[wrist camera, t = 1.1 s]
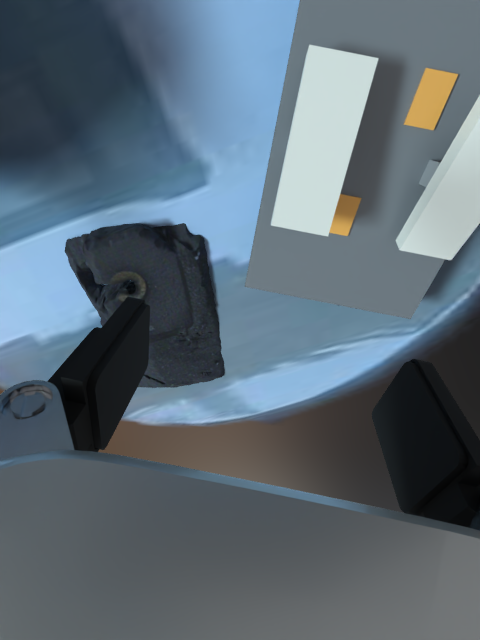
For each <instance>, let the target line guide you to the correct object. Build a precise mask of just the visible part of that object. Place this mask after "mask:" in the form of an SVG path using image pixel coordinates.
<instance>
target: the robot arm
mask: <svg viewBox="0 0 480 640" xmlns="http://www.w3.org/2000/svg"><path fill="white" fill-rule="evenodd" d="M149 330H150V306H149V305H147V304H146V303H145V300H143V299H138V298H134V297H127V298H126V299H125V300H124V301H123V302H122V304H121V305H120V306H119V307H118V308H117V310H116V311H115V312H114V313H113V314H112V316H111V317H110V318H109V319H108V320H107V322H106V323H105V324H104V325H103V327H102V328H98V327H97V328H94V329H93V330H92V331H91V332H90V333H89V334H88V335H87V336H86V338H85V339H84V340H83V341H82V342H81V343H80V344H79V346H78V347H77V348H76V349H75V350H74V351H73V353H72V354H71V355H70V356H69V357H68V358H67V359H66V361H65V362H64V363H63V364H62V365H61V366H60V368H59V369H58V370H57V371H56V372H55V373H54V375H53V376H52V377H51V378H50V379H49V380H48V381H43V380H32V381H26V382H22V383H19V384H16V385H14V386H12V387H10V388H8V389H7V390H5V391H4V392H3V393H2V394H1V395H0V640H480V440H479V439H478V437H477V436H476V434H475V432H474V430H473V429H472V427H471V426H470V424H469V422H468V421H467V419H466V417H465V416H464V414H463V413H462V411H461V409H460V408H459V406H458V405H457V403H456V401H455V400H454V398H453V396H452V395H451V393H450V392H449V390H448V388H447V387H446V385H445V384H444V382H443V380H442V379H441V377H440V376H439V374H438V372H437V371H436V369H435V367H434V366H433V364H432V363H430V362H426V361H421V360H417V359H412V360H410V361H409V362H406V363H404V365H403V366H402V368H401V369H400V371H399V372H398V374H397V375H396V376H395V378H394V379H393V381H392V382H391V384H390V385H389V387H388V388H387V390H386V391H385V393H384V394H383V396H382V397H381V399H380V400H379V402H378V403H377V405H376V406H375V408H374V409H373V412H372V419H373V422H374V426H375V429H376V432H377V435H378V438H379V441H380V445H381V448H382V451H383V455H384V458H385V461H386V464H387V468H388V471H389V474H390V477H391V480H392V484H393V487H394V490H395V493H396V497H397V500H398V503H399V506H400V509H401V510H402V511H403V512H404V513H401V512H397V511H392V510H387V509H383V508H378V507H373V506H369V505H363V504H359V503H354V502H350V501H345V500H340V499H336V498H330V497H325V496H321V495H316V494H312V493H307V492H302V491H297V490H292V489H288V488H283V487H278V486H273V485H268V484H263V483H258V482H253V481H249V480H244V479H239V478H234V477H229V476H224V475H219V474H214V473H209V472H205V471H199V470H195V469H189V468H184V467H179V466H175V465H170V464H164V463H159V462H153V461H148V460H143V459H137V458H132V457H127V456H121V455H115V454H108V453H100V452H98V450H99V449H101V450H104V449H105V448H106V446H107V445H108V443H109V441H110V439H111V437H112V435H113V433H114V431H115V429H116V427H117V425H118V423H119V421H120V420H121V418H122V416H123V414H124V412H125V410H126V408H127V406H128V404H129V402H130V400H131V398H132V396H133V395H134V393H135V391H136V389H137V387H138V385H139V383H140V381H141V379H142V377H143V375H144V373H145V371H146V369H147V366H148V362H149Z"/></svg>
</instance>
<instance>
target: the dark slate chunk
mask: <svg viewBox="0 0 480 640" xmlns="http://www.w3.org/2000/svg"><path fill="white" fill-rule="evenodd" d="M65 253H66V255H67V256H68V260H69V263H70V266H71V268H72V270H73V271H74V273H75V275H76V277H77V279H78V281H79V283H80V284H81V286H82V288H83V289H84V290H85V292H86V294H87V296H88V298H89V299H90V301H91V303H92V304H93V306H94V307H95V309H96V310H97V311H98V313H99V316H100V317H101V325H102V326H103V325H104V324H105V323H106V322H107V320H108V319H109V318H110V317H111V316H112V314H113V313H114V312H115V311H116V310H117V308H118V307H119V306H120V305H121V304H122V302H123V301H124V300H125V299H126V298H127V297H134V298H138V299H143V300H145V303H146V304H147V305H149V306H150V330H149V362H148V366H147V369H146V371H145V373H144V375H143V377H142V379H141V381H140V383H139V385H138V387H151V388H156V387H179V386H184V385H191V384H195V383H199V382H207V381H211V380H214V379H216V378H219V377H222V376H223V375H224V368H223V366H224V361H223V358H222V355H221V340H220V338H219V325H218V320H217V313H216V310H215V302H214V294H213V291H212V286H211V279H210V275H209V267H208V264H207V253H206V250H205V244H204V239H203V238H202V237H201V236H199V235H196V236H193V235H191V233H189V231H188V230H187V227H186V224H184V223H183V224H178V225H173V226H162V227H149V226H145V225H143V224H124V225H119V226H111V227H103V228H99V229H97V230H95V231H91V233H90V234H89V235H86V234H83V235H82V237H80V238H78V237H75V238H73V239H68V240H67V242H66V247H65ZM93 274H94V278H93ZM129 280H131V281H129ZM100 284H106V285H104V286H102V285H100Z"/></svg>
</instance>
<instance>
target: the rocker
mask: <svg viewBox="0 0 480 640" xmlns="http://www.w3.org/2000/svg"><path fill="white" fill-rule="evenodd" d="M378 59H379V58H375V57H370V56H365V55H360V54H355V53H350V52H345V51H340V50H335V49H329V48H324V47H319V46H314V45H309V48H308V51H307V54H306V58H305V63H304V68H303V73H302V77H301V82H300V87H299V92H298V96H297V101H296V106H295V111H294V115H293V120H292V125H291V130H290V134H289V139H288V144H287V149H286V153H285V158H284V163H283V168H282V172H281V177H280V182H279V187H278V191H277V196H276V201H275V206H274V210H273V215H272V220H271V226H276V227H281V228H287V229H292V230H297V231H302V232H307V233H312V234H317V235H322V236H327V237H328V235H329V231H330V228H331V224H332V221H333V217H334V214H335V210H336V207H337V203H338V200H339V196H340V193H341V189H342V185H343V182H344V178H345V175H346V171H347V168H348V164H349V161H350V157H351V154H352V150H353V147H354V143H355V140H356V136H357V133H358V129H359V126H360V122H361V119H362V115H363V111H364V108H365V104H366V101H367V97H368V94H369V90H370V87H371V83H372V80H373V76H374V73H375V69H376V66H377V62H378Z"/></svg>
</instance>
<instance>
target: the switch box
mask: <svg viewBox="0 0 480 640" xmlns="http://www.w3.org/2000/svg"><path fill="white" fill-rule="evenodd" d="M309 45H314V46H319V47H324V48H329V49H335V50H340V51H345V52H350V53H355V54H360V55H365V56H370V57H375V58H379V59H378V62H377V66H376V69H375V73H374V76H373V80H372V83H371V87H370V90H369V94H368V97H367V101H366V104H365V108H364V111H363V115H362V119H361V122H360V126H359V129H358V133H357V136H356V140H355V143H354V147H353V150H352V154H351V157H350V161H349V164H348V168H347V171H346V175H345V178H344V182H343V185H342V189H341V193H340V196H339V200H338V203H337V207H336V210H335V214H334V217H333V221H332V224H331V228H330V231H329V235H328V237H327V236H322V235H317V234H312V233H307V232H302V231H297V230H292V229H287V228H281V227H276V226H271V220H272V215H273V210H274V206H275V201H276V196H277V191H278V187H279V182H280V177H281V172H282V168H283V163H284V158H285V153H286V149H287V144H288V139H289V134H290V130H291V125H292V120H293V115H294V111H295V106H296V101H297V96H298V92H299V87H300V82H301V77H302V73H303V68H304V63H305V58H306V54H307V51H308V48H309ZM479 95H480V0H300V3H299V8H298V14H297V19H296V24H295V29H294V34H293V39H292V45H291V50H290V55H289V60H288V65H287V70H286V76H285V81H284V86H283V91H282V96H281V101H280V107H279V112H278V117H277V122H276V127H275V132H274V138H273V143H272V148H271V153H270V158H269V164H268V169H267V174H266V179H265V184H264V189H263V195H262V200H261V205H260V210H259V215H258V220H257V226H256V231H255V236H254V241H253V246H252V251H251V257H250V262H249V267H248V272H247V277H246V282H245V287H249V288H254V289H259V290H264V291H269V292H274V293H279V294H285V295H290V296H295V297H300V298H305V299H310V300H315V301H320V302H326V303H331V304H336V305H341V306H346V307H351V308H356V309H361V310H367V311H372V312H377V313H382V314H387V315H392V316H397V317H402V318H408V319H411V317H412V316H413V314H414V312H415V311H416V309H417V307H418V305H419V304H420V302H421V300H422V299H423V297H424V295H425V293H426V292H427V290H428V288H429V287H430V285H431V283H432V281H433V280H434V278H435V276H436V274H437V273H438V271H439V269H440V268H441V266H442V264H443V262H444V261H445V259H442V258H436V257H431V256H426V255H421V254H416V253H411V252H406V251H401V250H399V248H398V245H397V243H396V241H395V240H396V239H397V237H398V235H399V234H400V232H401V230H402V228H403V227H404V225H405V223H406V221H407V220H408V218H409V216H410V215H411V213H412V211H413V209H414V208H415V206H416V204H417V202H418V201H419V199H420V197H421V196H422V194H423V192H424V190H425V189H426V187H427V185H428V183H429V182H430V180H431V178H432V177H433V175H434V173H435V171H436V170H437V168H438V166H439V164H440V163H441V161H442V159H443V158H444V156H445V154H446V152H447V151H448V149H449V147H450V145H451V144H452V142H453V140H454V139H455V137H456V135H457V133H458V132H459V130H460V128H461V126H462V125H463V123H464V121H465V120H466V118H467V116H468V114H469V113H470V111H471V109H472V107H473V106H474V104H475V102H476V101H477V99H478V97H479Z"/></svg>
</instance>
